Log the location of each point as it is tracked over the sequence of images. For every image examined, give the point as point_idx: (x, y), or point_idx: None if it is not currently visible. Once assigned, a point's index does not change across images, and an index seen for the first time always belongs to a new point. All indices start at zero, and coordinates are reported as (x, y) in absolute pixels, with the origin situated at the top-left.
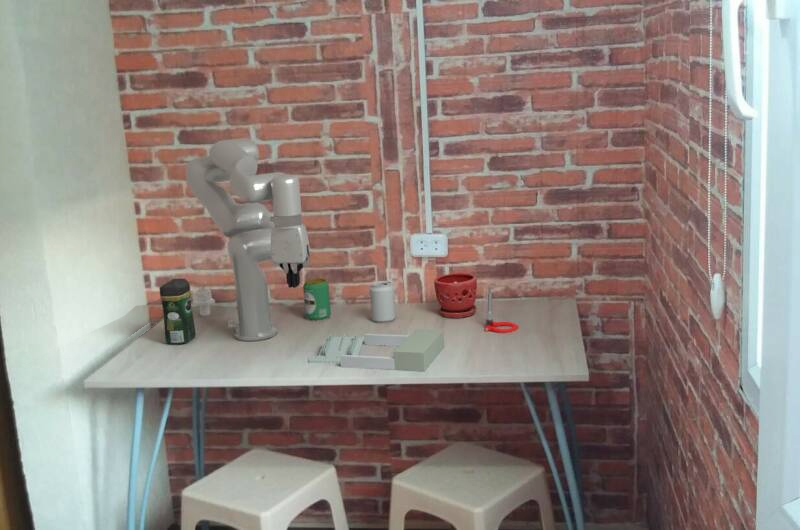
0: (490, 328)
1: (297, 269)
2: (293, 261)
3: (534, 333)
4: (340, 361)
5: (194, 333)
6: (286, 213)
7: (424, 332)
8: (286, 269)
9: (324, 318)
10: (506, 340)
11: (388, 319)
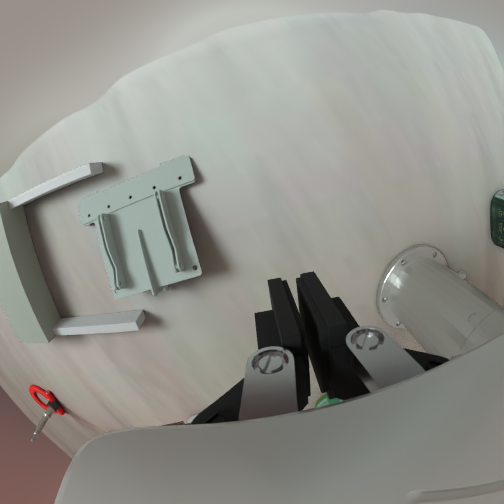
0: (44, 392)
1: (247, 388)
2: (241, 439)
3: (15, 383)
4: (116, 186)
5: (495, 232)
6: None
7: (26, 325)
8: (370, 352)
9: (319, 400)
10: (12, 360)
11: (190, 418)
